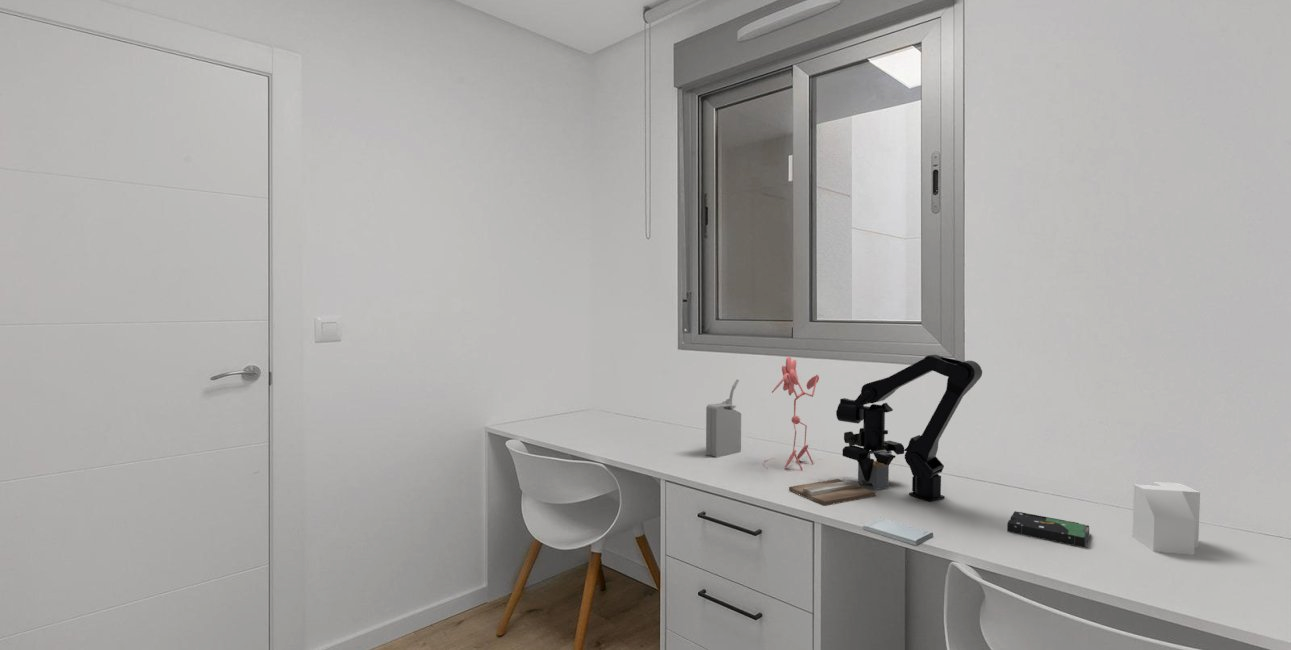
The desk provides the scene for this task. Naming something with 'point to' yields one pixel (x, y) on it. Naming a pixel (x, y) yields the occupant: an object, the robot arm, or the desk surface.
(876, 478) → the block
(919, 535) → the hard drive
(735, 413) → the fuel canister
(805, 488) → the mounting board
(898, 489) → the desk surface
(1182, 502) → the corner bracket
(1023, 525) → the disk drive
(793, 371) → the pink flower figurine
